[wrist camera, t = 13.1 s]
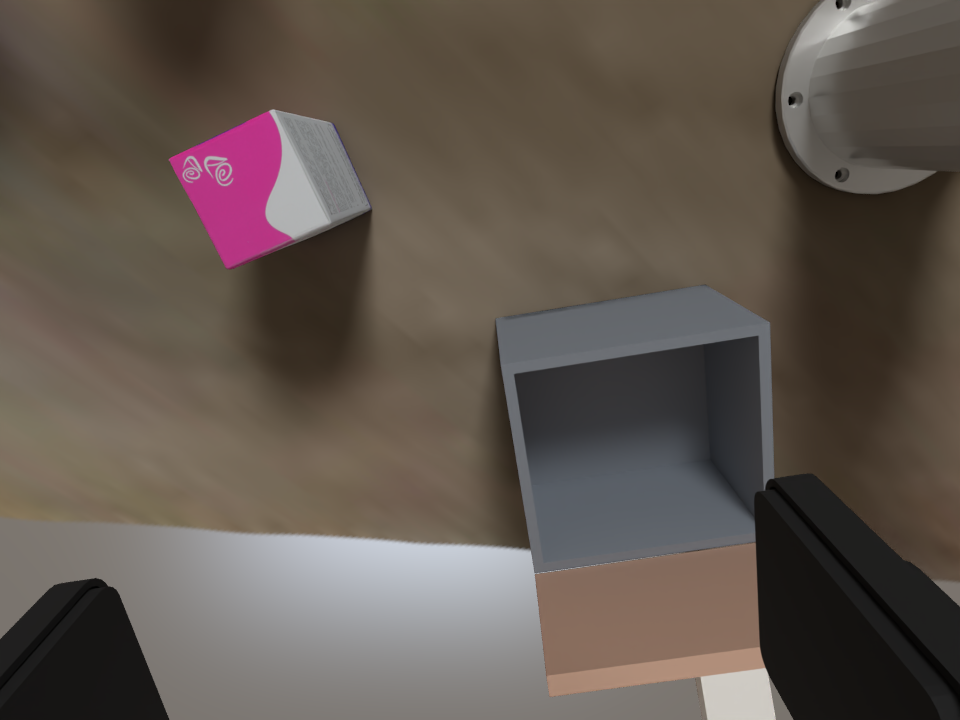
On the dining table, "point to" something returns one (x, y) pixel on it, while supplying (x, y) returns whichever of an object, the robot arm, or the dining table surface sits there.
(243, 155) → the supplement box
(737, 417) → the carton
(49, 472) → the dining table surface
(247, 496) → the dining table surface
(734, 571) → the lid
